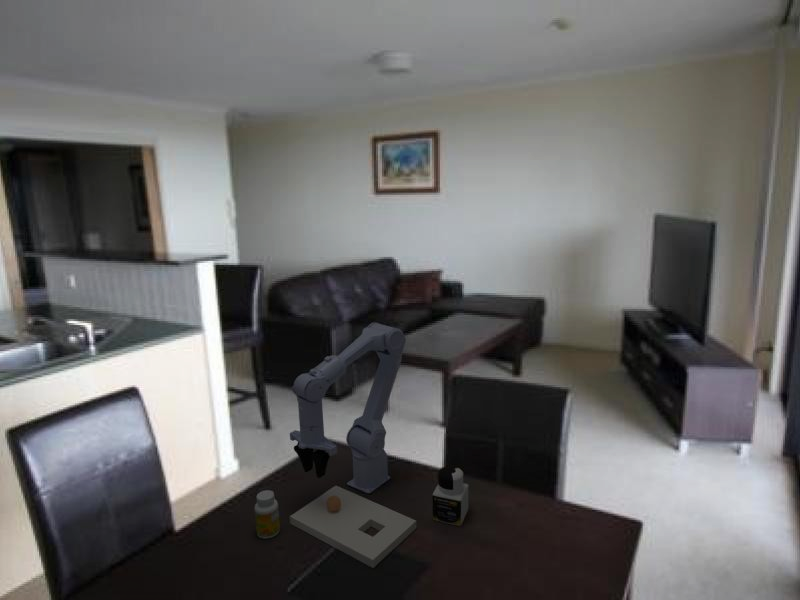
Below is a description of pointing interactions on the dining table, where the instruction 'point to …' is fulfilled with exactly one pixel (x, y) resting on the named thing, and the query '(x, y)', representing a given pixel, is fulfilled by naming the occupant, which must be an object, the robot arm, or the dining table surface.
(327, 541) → the white flat board
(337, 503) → the ball
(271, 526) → the supplement bottle
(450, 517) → the medicine bottle
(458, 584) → the dining table surface
